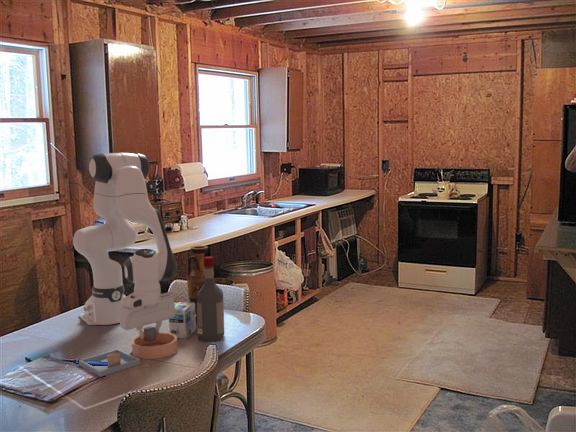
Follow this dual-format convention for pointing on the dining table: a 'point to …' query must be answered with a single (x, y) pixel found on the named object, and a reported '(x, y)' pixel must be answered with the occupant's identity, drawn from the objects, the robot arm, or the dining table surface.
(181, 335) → the light bulb box
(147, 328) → the grey cube
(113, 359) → the tan wooden cube
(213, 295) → the liquor
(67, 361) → the dining table surface
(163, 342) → the bowl
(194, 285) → the vase
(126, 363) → the parts tray
